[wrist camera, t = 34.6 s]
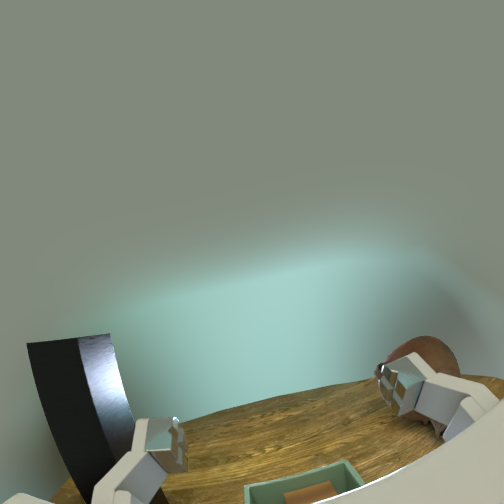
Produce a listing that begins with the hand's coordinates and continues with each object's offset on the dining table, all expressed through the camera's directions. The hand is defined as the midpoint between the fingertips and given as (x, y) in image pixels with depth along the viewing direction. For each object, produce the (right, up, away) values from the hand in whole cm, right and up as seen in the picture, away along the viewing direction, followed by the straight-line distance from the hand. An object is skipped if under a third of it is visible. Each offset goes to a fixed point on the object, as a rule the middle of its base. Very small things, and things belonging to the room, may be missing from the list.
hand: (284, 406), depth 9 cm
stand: (-17, -40, +14) cm, 46 cm away
